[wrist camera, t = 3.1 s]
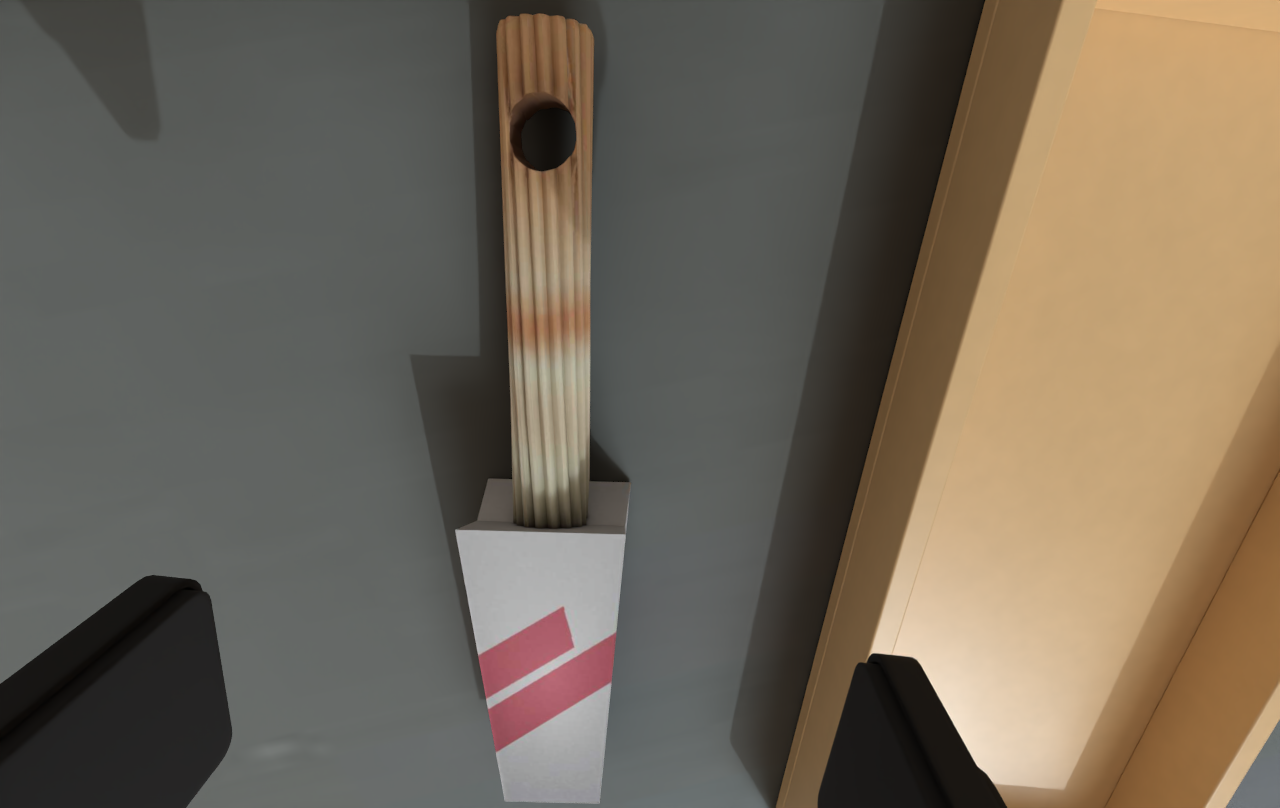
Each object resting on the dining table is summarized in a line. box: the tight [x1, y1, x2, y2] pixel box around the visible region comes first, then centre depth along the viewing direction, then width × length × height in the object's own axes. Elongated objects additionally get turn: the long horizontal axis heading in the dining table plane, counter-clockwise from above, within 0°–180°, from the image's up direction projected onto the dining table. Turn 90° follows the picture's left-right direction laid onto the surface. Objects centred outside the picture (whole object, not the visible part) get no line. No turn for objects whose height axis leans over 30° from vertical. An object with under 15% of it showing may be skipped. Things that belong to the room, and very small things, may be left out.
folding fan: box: [455, 13, 631, 804], centre depth 15 cm, size 4×3×20 cm
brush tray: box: [776, 0, 1280, 808], centre depth 15 cm, size 11×24×3 cm, turn 174°
